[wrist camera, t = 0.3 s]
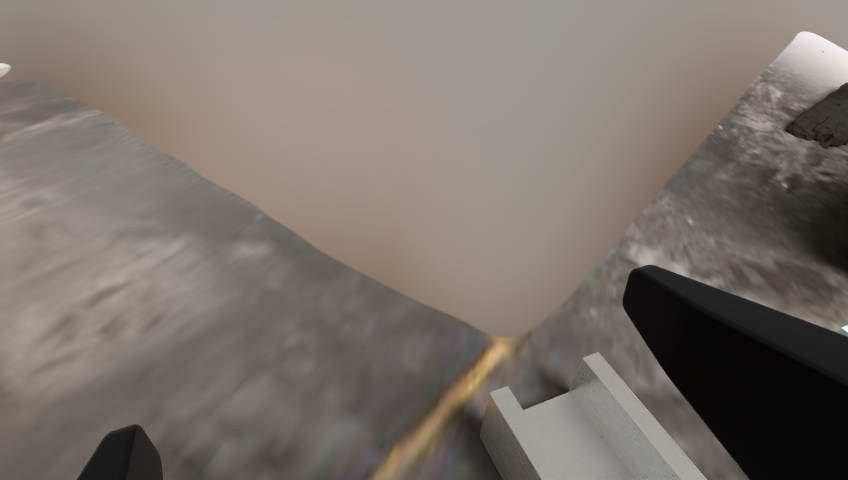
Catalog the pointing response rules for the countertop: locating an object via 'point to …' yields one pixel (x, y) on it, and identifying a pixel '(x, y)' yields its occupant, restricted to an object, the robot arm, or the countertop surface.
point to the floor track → (582, 434)
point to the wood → (825, 120)
